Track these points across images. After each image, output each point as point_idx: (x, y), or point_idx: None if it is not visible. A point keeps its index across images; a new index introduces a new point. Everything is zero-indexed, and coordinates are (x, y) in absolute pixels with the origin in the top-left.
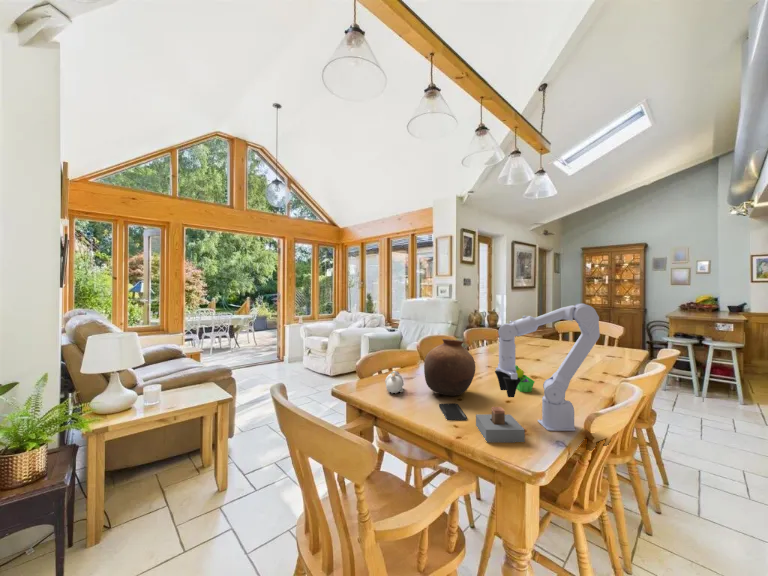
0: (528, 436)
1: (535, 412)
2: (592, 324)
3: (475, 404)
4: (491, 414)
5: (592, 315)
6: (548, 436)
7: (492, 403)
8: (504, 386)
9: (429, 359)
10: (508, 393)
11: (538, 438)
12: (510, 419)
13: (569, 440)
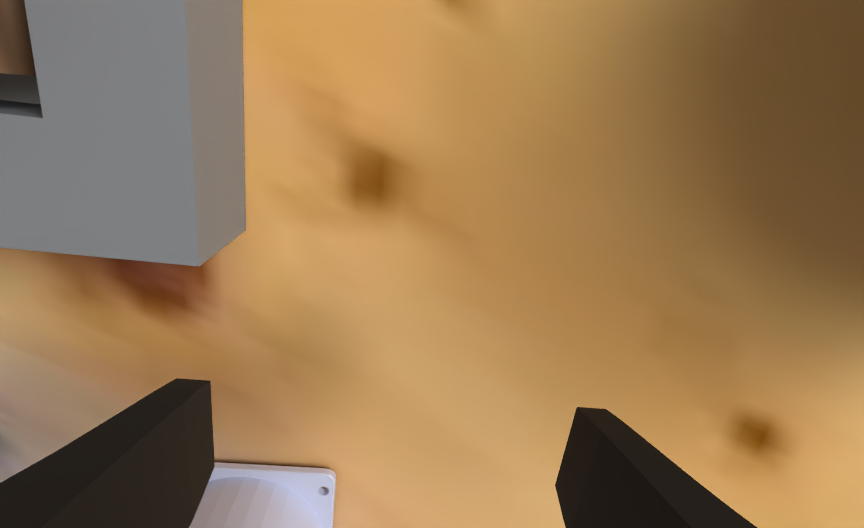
0: (39, 282)
1: (498, 521)
2: None
3: (813, 112)
4: (185, 14)
5: None
6: (66, 420)
7: (769, 296)
8: (589, 519)
9: None
10: (115, 427)
11: (14, 339)
12: (36, 198)
13: None
